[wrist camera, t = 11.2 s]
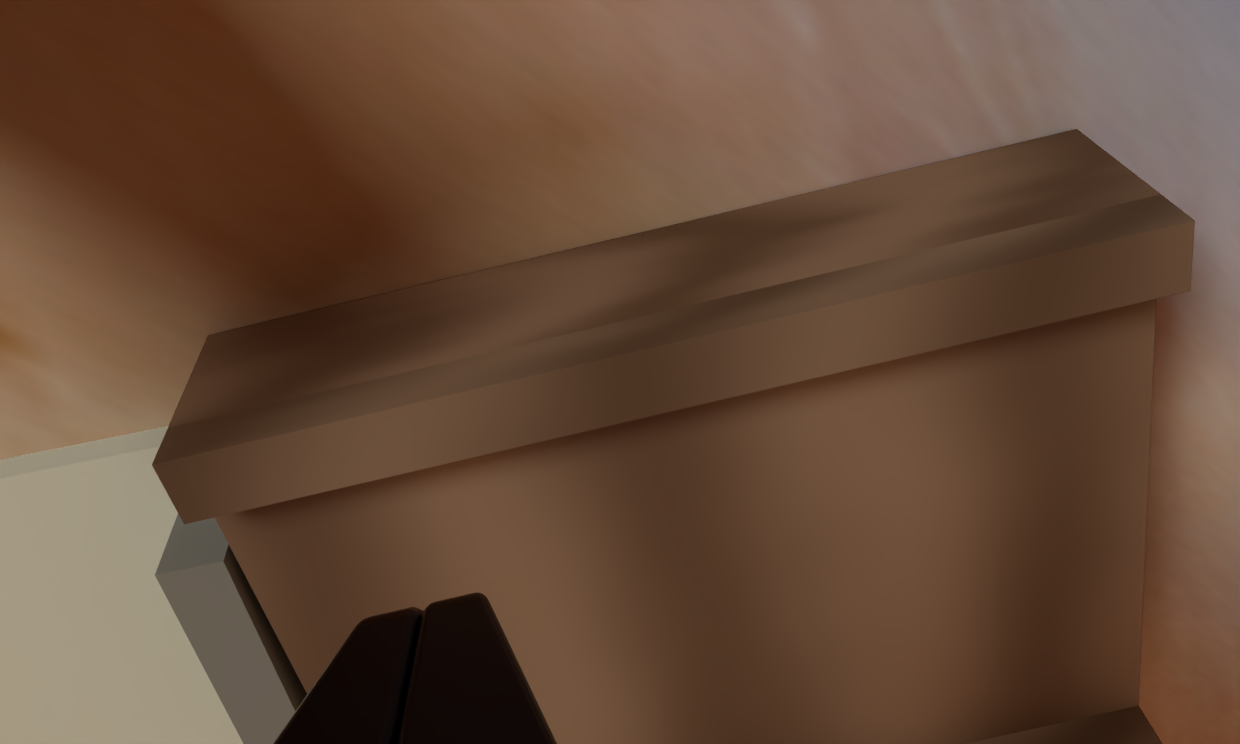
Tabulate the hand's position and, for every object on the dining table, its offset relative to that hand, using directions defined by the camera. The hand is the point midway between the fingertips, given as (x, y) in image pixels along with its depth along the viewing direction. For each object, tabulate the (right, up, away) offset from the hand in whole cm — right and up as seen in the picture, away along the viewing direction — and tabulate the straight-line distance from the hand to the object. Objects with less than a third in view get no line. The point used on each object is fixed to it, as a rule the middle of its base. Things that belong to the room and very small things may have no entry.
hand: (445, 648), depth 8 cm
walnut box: (+3, -1, +16) cm, 17 cm away
